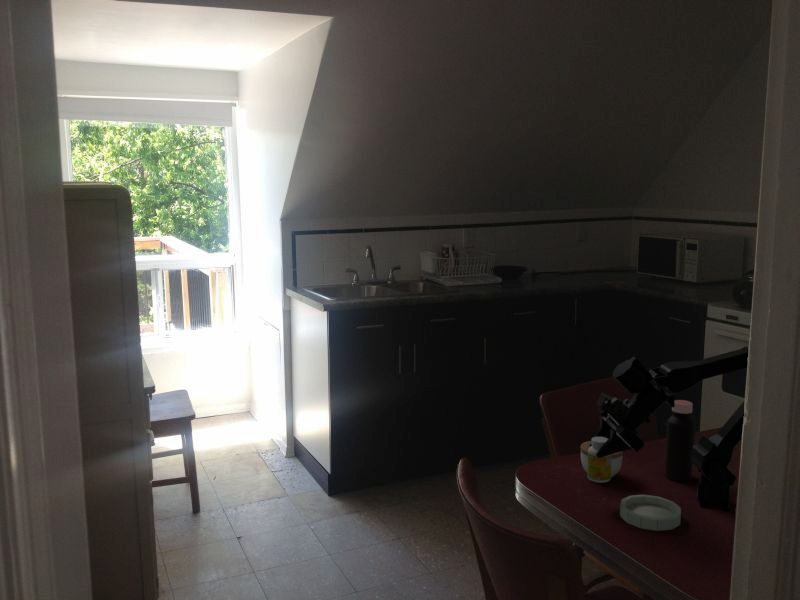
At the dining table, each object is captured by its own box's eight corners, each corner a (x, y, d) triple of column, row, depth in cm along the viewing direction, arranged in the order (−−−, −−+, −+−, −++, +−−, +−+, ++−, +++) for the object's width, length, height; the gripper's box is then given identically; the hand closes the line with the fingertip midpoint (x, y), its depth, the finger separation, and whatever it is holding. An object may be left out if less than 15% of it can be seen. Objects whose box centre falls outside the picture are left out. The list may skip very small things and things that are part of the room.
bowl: (680, 509, 173) (680, 499, 173) (680, 534, 161) (680, 523, 161) (622, 501, 178) (622, 491, 177) (618, 524, 166) (618, 514, 165)
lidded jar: (623, 485, 187) (625, 450, 186) (580, 482, 189) (581, 447, 188) (620, 469, 198) (621, 435, 196) (578, 466, 200) (580, 433, 198)
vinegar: (664, 480, 190) (668, 405, 187) (664, 470, 197) (668, 397, 194) (692, 483, 188) (697, 407, 185) (691, 473, 195) (696, 400, 191)
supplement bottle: (582, 478, 176) (583, 439, 174) (594, 472, 179) (596, 433, 178) (603, 485, 172) (604, 445, 170) (615, 478, 175) (616, 439, 174)
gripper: (607, 372, 181) (561, 416, 183) (631, 394, 163) (580, 443, 164) (638, 403, 182) (592, 446, 184) (665, 428, 164) (614, 476, 166)
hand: (593, 452), depth 174 cm, fingers closed on supplement bottle, 5 cm apart
